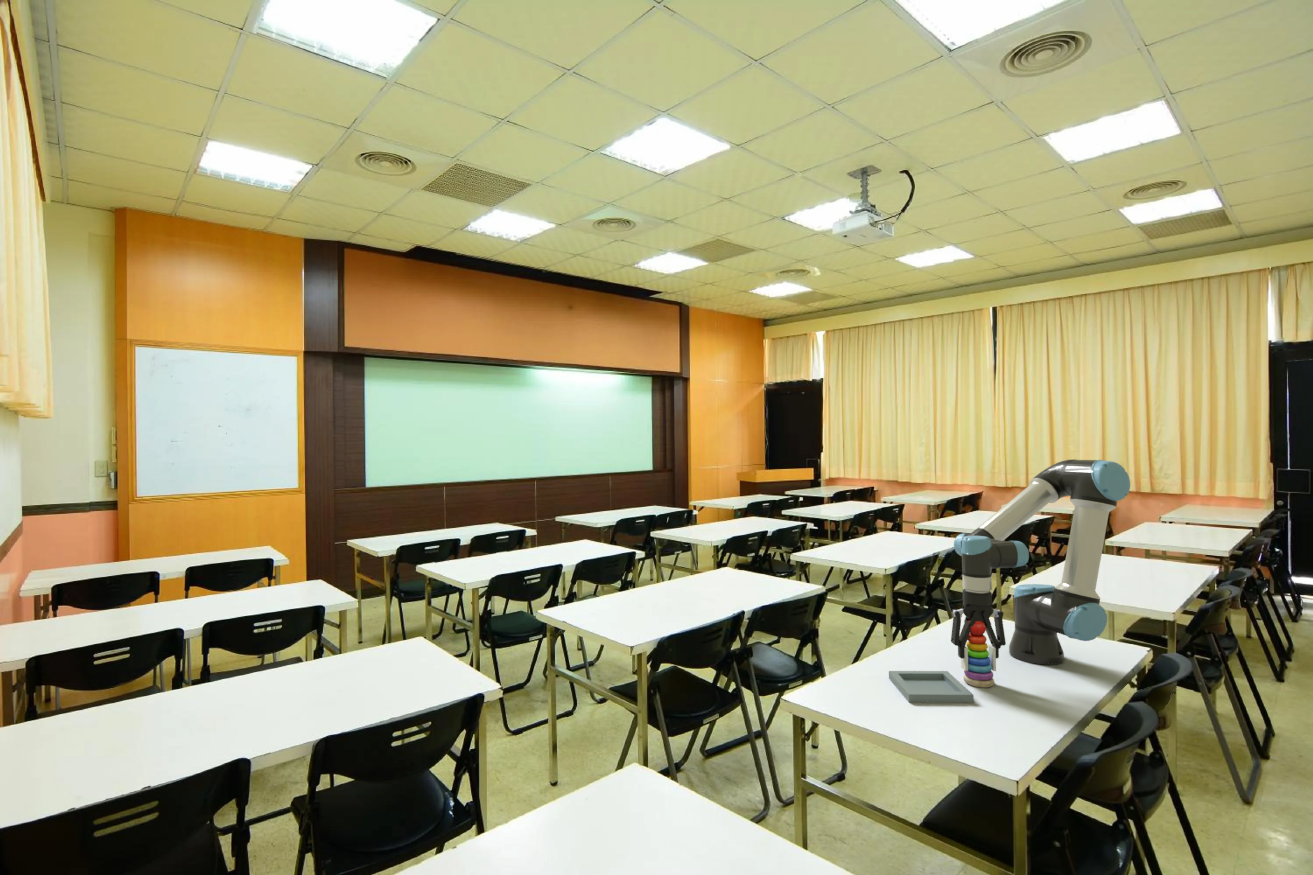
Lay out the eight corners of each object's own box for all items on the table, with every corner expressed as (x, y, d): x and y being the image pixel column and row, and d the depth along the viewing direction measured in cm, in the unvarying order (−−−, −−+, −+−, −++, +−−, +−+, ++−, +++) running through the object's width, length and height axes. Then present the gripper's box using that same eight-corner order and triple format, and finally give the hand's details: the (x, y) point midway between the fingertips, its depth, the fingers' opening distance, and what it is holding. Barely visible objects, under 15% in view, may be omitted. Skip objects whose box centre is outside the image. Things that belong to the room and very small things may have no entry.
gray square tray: (947, 678, 183) (947, 670, 183) (973, 702, 166) (973, 694, 166) (888, 678, 184) (888, 670, 184) (909, 702, 167) (908, 694, 167)
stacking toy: (987, 678, 183) (985, 614, 183) (999, 688, 175) (998, 622, 175) (959, 677, 184) (958, 614, 184) (970, 688, 176) (968, 622, 176)
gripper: (1005, 586, 183) (1007, 664, 183) (936, 587, 184) (938, 664, 184) (1019, 592, 175) (1021, 674, 175) (947, 593, 176) (948, 673, 176)
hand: (978, 668), depth 179 cm, fingers closed on stacking toy, 7 cm apart
